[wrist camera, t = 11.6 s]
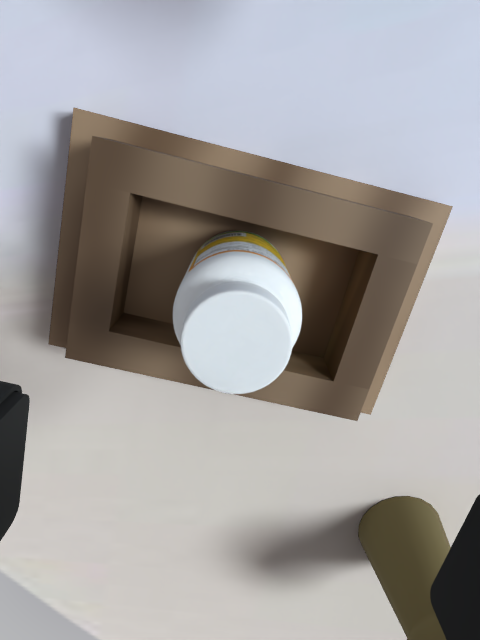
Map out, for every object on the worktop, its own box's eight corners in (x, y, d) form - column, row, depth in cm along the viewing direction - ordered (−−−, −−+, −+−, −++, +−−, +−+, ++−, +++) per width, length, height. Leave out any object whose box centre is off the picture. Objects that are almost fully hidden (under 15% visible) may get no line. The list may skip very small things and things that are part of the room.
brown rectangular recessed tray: (440, 203, 25) (481, 212, 20) (364, 402, 29) (385, 443, 25) (83, 110, 23) (48, 99, 19) (58, 334, 27) (25, 366, 23)
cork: (343, 545, 33) (390, 719, 23) (384, 484, 31) (455, 645, 21) (412, 569, 34) (488, 748, 24) (456, 512, 32) (559, 679, 22)
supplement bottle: (252, 339, 26) (259, 436, 17) (172, 292, 25) (132, 368, 16) (305, 262, 24) (344, 322, 15) (221, 209, 23) (209, 239, 14)
